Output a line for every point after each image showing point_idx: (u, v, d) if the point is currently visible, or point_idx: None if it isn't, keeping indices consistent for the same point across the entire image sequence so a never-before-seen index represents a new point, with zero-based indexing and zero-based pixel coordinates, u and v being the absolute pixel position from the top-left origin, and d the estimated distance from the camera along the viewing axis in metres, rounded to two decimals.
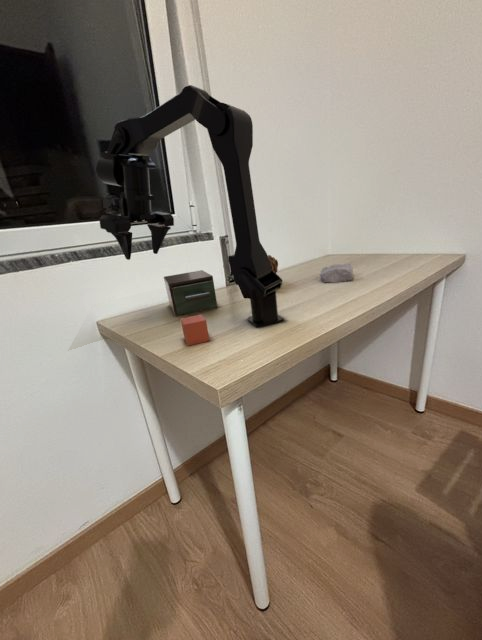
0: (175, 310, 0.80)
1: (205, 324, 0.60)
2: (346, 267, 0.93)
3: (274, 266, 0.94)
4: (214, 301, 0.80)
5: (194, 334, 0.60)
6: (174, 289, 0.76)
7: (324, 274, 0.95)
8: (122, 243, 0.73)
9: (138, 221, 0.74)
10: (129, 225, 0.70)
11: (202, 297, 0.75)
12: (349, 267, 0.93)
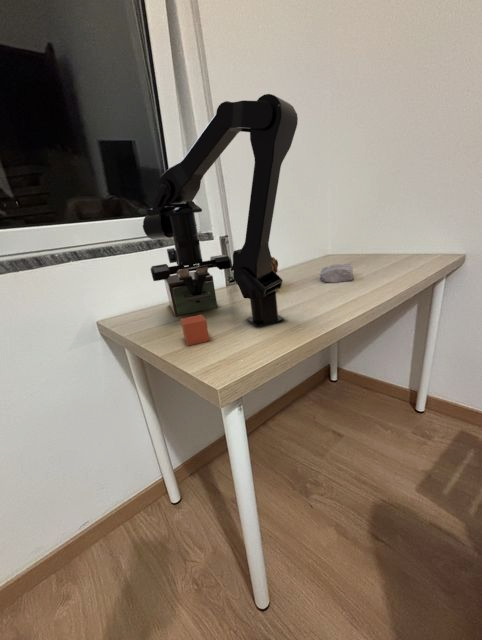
0: (175, 310, 0.80)
1: (205, 324, 0.60)
2: (346, 267, 0.93)
3: (274, 266, 0.94)
4: (214, 301, 0.80)
5: (194, 334, 0.60)
6: (174, 289, 0.76)
7: (324, 274, 0.95)
8: None
9: (204, 264, 0.73)
10: (168, 273, 0.69)
11: (202, 297, 0.74)
12: (349, 267, 0.93)
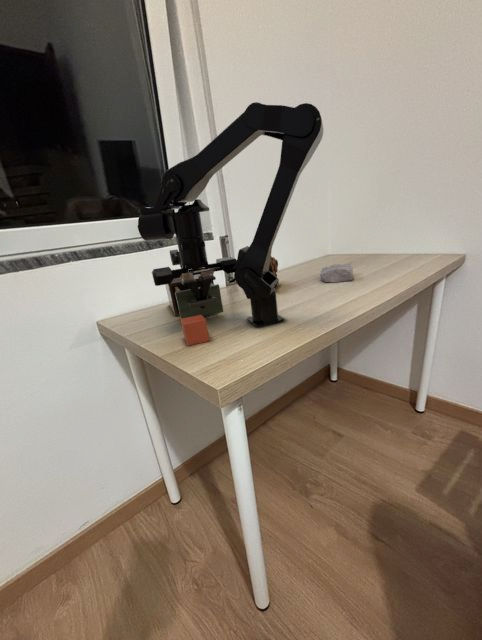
0: (175, 310, 0.80)
1: (205, 324, 0.60)
2: (346, 267, 0.93)
3: (274, 266, 0.94)
4: (220, 306, 0.75)
5: (194, 334, 0.60)
6: (177, 294, 0.70)
7: (324, 274, 0.95)
8: None
9: (210, 268, 0.68)
10: (171, 277, 0.64)
11: (208, 302, 0.69)
12: (349, 267, 0.93)
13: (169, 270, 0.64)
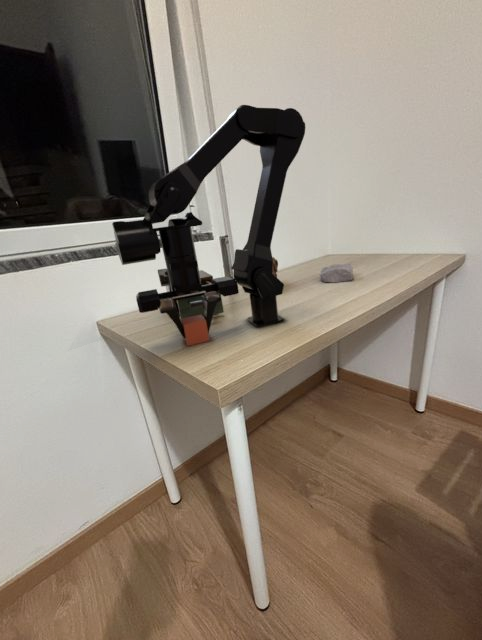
0: None
1: (205, 324, 0.60)
2: (346, 267, 0.93)
3: (274, 266, 0.94)
4: (221, 307, 0.75)
5: (194, 334, 0.60)
6: None
7: (324, 274, 0.95)
8: None
9: (192, 292, 0.58)
10: (158, 302, 0.54)
11: None
12: (349, 267, 0.93)
13: (156, 294, 0.55)
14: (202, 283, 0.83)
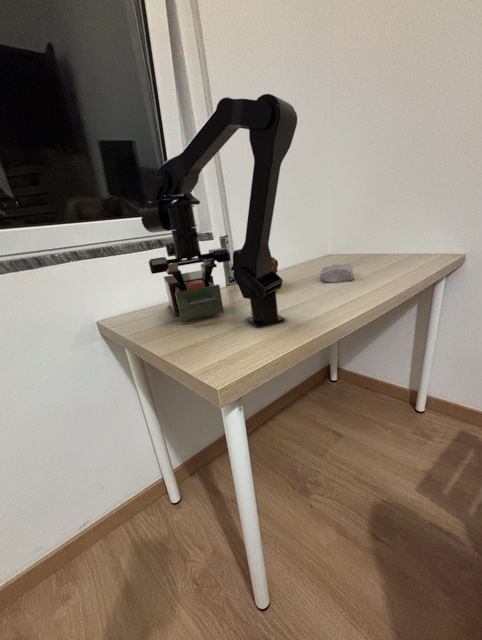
0: (175, 310, 0.80)
1: (203, 285, 0.74)
2: (346, 267, 0.93)
3: (274, 266, 0.94)
4: (221, 307, 0.75)
5: None
6: (178, 294, 0.70)
7: (324, 274, 0.95)
8: None
9: (193, 259, 0.72)
10: (166, 265, 0.69)
11: (208, 303, 0.69)
12: (349, 267, 0.93)
13: (164, 259, 0.69)
14: None
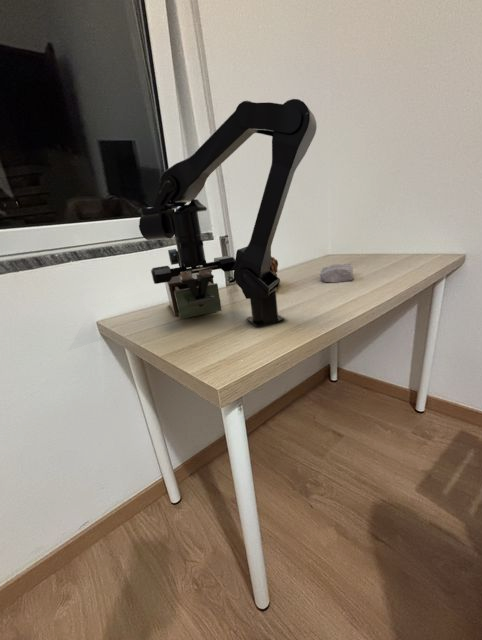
0: (175, 310, 0.80)
1: None
2: (346, 267, 0.93)
3: (274, 266, 0.94)
4: (219, 305, 0.76)
5: None
6: (176, 292, 0.72)
7: (324, 274, 0.95)
8: (192, 289, 0.71)
9: (208, 266, 0.69)
10: (169, 275, 0.65)
11: (206, 301, 0.70)
12: (349, 267, 0.93)
13: (168, 268, 0.65)
14: None
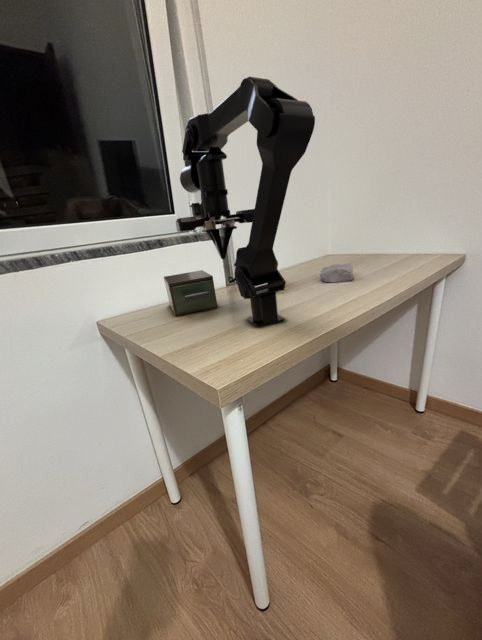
0: (175, 310, 0.80)
1: None
2: (346, 267, 0.93)
3: None
4: (213, 300, 0.81)
5: None
6: (174, 288, 0.77)
7: (324, 274, 0.95)
8: (215, 241, 0.73)
9: (231, 218, 0.71)
10: (195, 223, 0.67)
11: (201, 296, 0.75)
12: (349, 267, 0.93)
13: (193, 217, 0.67)
14: None
